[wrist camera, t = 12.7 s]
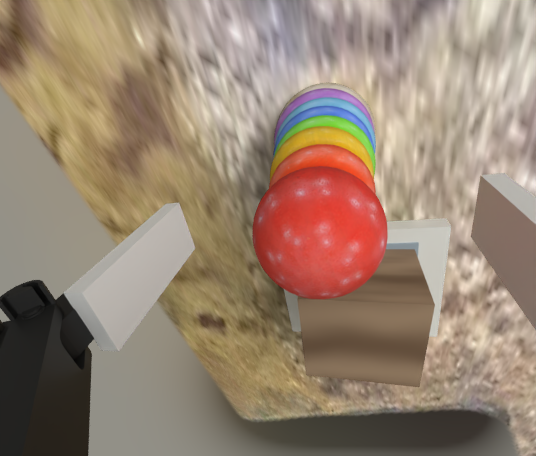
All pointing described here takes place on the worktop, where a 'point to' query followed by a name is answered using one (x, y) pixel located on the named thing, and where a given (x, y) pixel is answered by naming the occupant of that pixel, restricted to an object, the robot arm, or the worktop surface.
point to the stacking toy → (322, 196)
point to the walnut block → (372, 326)
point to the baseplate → (428, 252)
